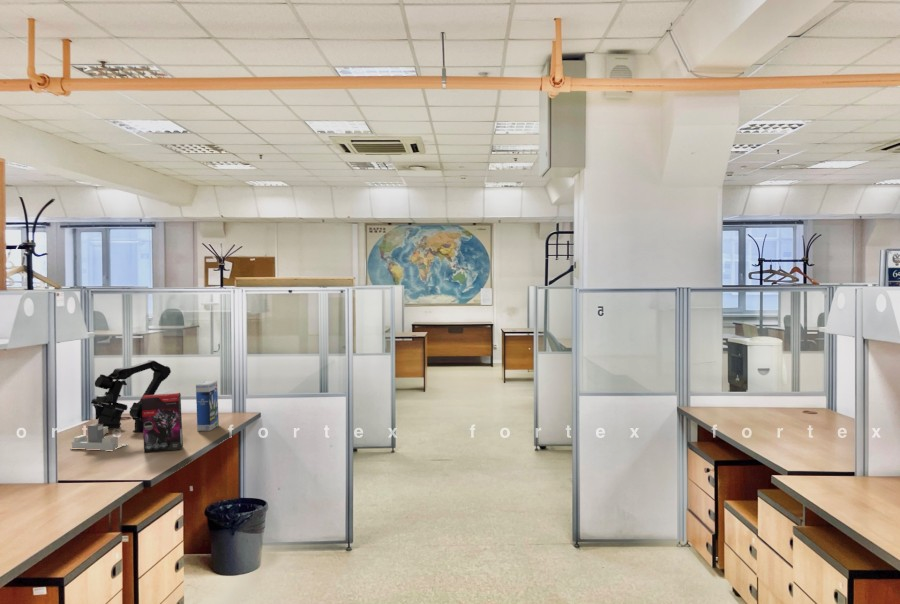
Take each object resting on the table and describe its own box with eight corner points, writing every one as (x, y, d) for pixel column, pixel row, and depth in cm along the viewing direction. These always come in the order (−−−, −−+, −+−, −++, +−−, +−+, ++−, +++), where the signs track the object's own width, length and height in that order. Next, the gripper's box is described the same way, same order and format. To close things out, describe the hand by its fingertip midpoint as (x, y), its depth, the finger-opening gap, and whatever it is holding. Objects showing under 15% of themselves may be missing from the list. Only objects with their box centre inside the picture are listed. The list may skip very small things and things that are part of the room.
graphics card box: (142, 453, 296) (140, 397, 295) (145, 449, 303) (143, 394, 301) (181, 450, 300) (179, 395, 299) (183, 446, 307) (181, 392, 306)
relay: (108, 433, 336) (108, 426, 335) (103, 436, 331) (102, 428, 331) (98, 433, 336) (97, 426, 336) (92, 435, 332) (92, 428, 331)
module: (94, 445, 311) (93, 423, 311) (104, 445, 310) (103, 424, 309) (88, 447, 307) (87, 425, 307) (97, 447, 306) (97, 425, 306)
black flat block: (92, 426, 346) (104, 401, 348) (116, 434, 350) (128, 409, 351) (91, 427, 343) (103, 402, 344) (115, 435, 346) (127, 411, 348)
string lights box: (210, 431, 338) (208, 384, 336) (196, 431, 337) (194, 384, 336) (219, 425, 351) (217, 380, 350) (205, 425, 351) (204, 380, 350)
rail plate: (89, 442, 317) (88, 432, 316) (128, 445, 311) (128, 434, 311) (69, 449, 305) (69, 438, 305) (110, 451, 300) (110, 440, 299)
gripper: (88, 385, 321) (77, 415, 317) (117, 390, 317) (107, 420, 312) (104, 390, 332) (93, 419, 327) (132, 395, 327) (122, 424, 322)
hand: (103, 420), depth 322 cm, fingers open, 9 cm apart
